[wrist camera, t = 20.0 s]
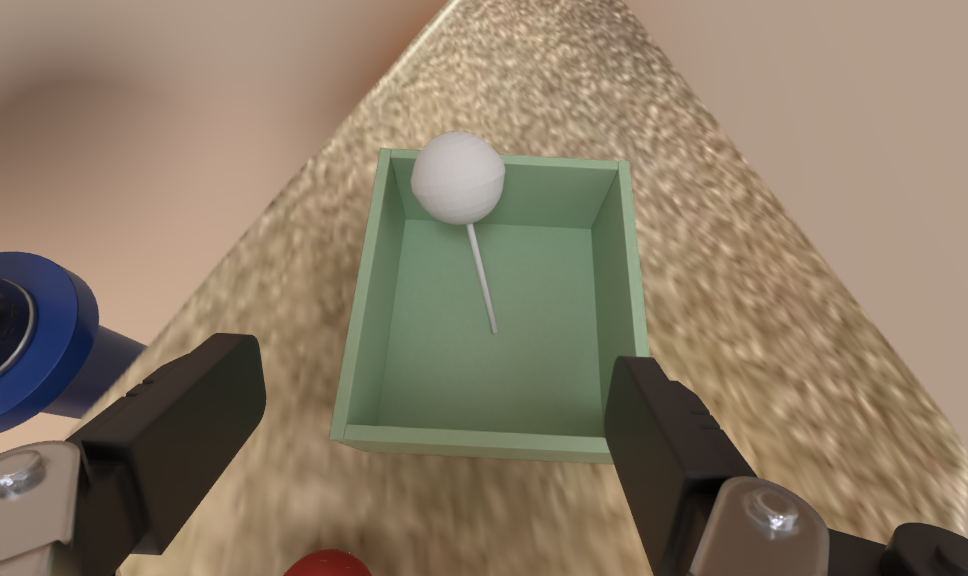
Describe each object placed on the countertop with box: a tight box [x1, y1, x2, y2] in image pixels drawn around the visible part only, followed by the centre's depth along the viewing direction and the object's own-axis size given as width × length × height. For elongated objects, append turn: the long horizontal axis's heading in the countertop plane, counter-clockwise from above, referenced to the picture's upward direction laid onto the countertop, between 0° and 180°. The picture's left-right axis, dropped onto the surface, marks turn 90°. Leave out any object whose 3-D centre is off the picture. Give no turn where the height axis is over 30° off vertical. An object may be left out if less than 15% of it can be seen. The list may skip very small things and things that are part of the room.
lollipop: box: [411, 131, 505, 334], centre depth 31 cm, size 6×6×15 cm
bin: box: [329, 148, 650, 464], centre depth 32 cm, size 18×20×9 cm
